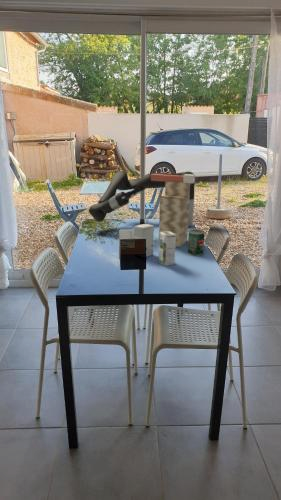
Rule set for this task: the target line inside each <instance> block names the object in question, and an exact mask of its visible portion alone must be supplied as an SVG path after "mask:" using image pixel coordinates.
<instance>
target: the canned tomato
mask: <svg viewBox="0 0 281 500" xmlns="http://www.w3.org/2000/svg"><path fill="white" fill-rule="evenodd" d="M205 233H206V232H205V230H203V229H188V238H187V254H188V255H190V256H202V255H204V250H205V235H206V234H205Z"/></svg>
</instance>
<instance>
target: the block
mask: <svg viewBox="0 0 281 500" xmlns="http://www.w3.org/2000/svg"><path fill="white" fill-rule="evenodd" d="M193 174H194V173H193ZM193 174H185V175H184V176H181V175H164V174H151V181H164V182H180V183H196V180H195V177H196V174H194V175H193Z"/></svg>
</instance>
